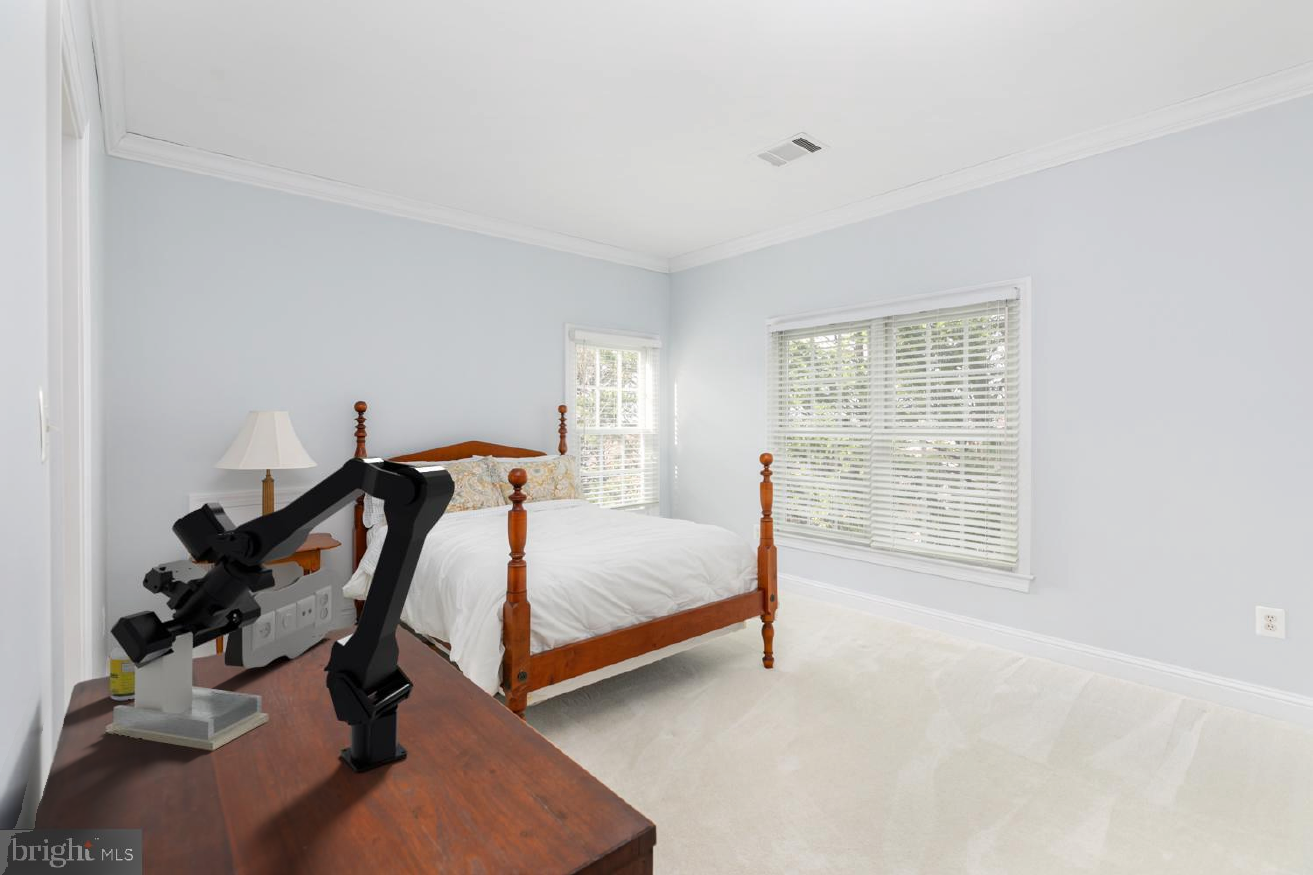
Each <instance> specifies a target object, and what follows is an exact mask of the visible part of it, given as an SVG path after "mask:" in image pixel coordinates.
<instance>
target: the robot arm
mask: <svg viewBox="0 0 1313 875" xmlns="http://www.w3.org/2000/svg"><path fill="white" fill-rule="evenodd" d="M455 489H456V484H455V481H454V479H453V477H452V475H451V473H450V472H449V471H448V470H447V468H444V467H443V466H442V465H437V464H429V465H420V466H418V465H415V464H414V465H413V464H407V463H402V462H397V461H392V460H388V459H384V458H381V457H379V456H374V455H373V456H359V457H357V456H356V457H353V458H350V459H348V460H346V461H345V463H344V464H342V466H341V467H340V468H339V469H337V470H336V471H334V472H333V473H331V474H330V475H329V476H328V477H325V478H324V479H322V480H321V481H320V482H319V483H317V484H316V485H314V486H313V487H312V488H310V489H308V490H307V491H306V492H304V493H302V494H301V495H300V496H298V497H297V498H296V499H295V500H293V501H291V502H290V503H289V504H287V505H286V506H284V507H283V508H280V509H278V510H275V511H273V512H270V513H267V514H264V515H261V516H258V517H256V518H253V519H251V520H249V521H247V522H243V523H242V524H240V525H238V526H236V525H235V523H234V522H233V521H232V520H231V519H230V518H229V516H228V514H227V513H226V512H225V510H224V508H223V506H222V505H221V503H220V502H219V501H216V502H206V503H204V504H203V505H202V506H201V507H200V508H198V509H195V510H193V511H191V512H189V513H187V514H186V515H184V516H182V517H181V518H178V519H177V520H176V521H175V522H174V523H173V525H172V532H173V533H174V534H175V536H176V537H177V539H178V540H179V541H180V542H181V544H182V545H183V546H184V548H185V549H186V550H187V552H188V553H189V554H190V555H191V557H192V558H193V560H194V561H195V562H196V563H198V564H199V563H206V562H207V563H208V564H214V565H213V566H212V567H211V568H210V569H209V570H208V571H206V570H204V569H203V568H202V567H201V566H199V565H197V564H196V563H194V562H193V561H191V560H187V559H179V560H173V561H170V562H166V563H160V564H158V566H154V567H151V569H150V570H149V571H148V572H146V573H145V575H144V578H143V581H142V586H143V588H145V589H146V590H148V591H149V592H150V593H153V594H154V595H156V594H160V593H161V594H163V595H164V596H166V597H167V598H169V600H167V602H166V603H165V604H166V606H167V607H168V609H169V610H171V611H173V610H174V611H175V612H173V613H172V614H171V617H173V620H169V621H166V622H163V623H162V622H161V620H160V619H161V618H160V617H159V616H158V615H157V613H156V612H155V611H154V610H144V611H140V612H136V613H132V614H130V615H129V614H128V615H126V616H122V617H120V618H119V619H118V620H117V621H116V622H115V623H114V624H113V626H112V627H111V629H110V633H111V634H112V636H113V637H114V639H115V641H116V640H117V641H118V643H119V644H120V645H121V647H122V648H123V650H124V651H125V652H126V654H127V655H128V657H129V658H130V659H131V661H132V662H134V664H135V666H136V667H137V668H138V669H139V668H142V667H144V666H146V665H148V664H150V663H153V662H155V661H157V660H159V659H161V658H163V657H165V656H168V655H170V654H172V653H174V651H173V649H172V648H171V647H172V643H174V642H175V641H176V637H179V636H182V635H185V634H188V633H191V632H192V634H193V649H195V648H197V647H200V646H202V645H204V644H207V643H209V642H213V641H215V640H217V639H219V638H221V637H224V636H228V635H229V633H231V632H234V631H236V630H237V629H238V627H239V628H242V627H245V626H248V625H251V624H253V623H255V621H256V620H257V619H258V618H259V617H260V616H261V607H260V606H259V604H258V603H257V602H256V600H255V599H254V598H253V595H252V593H253V594H256V593H259V592H263V591H265V590H269V589H271V588H273V587H275V586H276V581H275V579H276V578H275V577H274V573H273V572H274V570H273V569H272V568H268V567H267V566H266V565H265V564H266V563H270V562H274V561H279V560H281V559H282V560H283V559H286V558H288V557H291V556H293V554H295V553H296V552H297V551H298V550H299V548H300V547H302V546H303V545H304V544H305V543H306V542H307V540H308V538H309V534H310V533H311V532H312V531H313V530H314V529H315V528H316V527H317V526H319V525H320V524H321V523H323V522H324V521H326V520H328V519H329V518H330V517H332V516H333V515H335V514H336V513H338V512H339V511H340V510H342V509H344V508H345V507H347V506H348V505H350V504H351V503H352V502H354V501H356V500H357V499H358V498H360V497H361V496H362V495H364V494H367V495H369V496H371V497H372V498H375V499H379V500H381V501H382V500H383V505H382V506H383V513H384V518H385V521H386V526H387V530H386V534H385V537H384V540H383V544H382V546H381V550H380V553H379V557H378V560H377V563H376V566H375V569H374V573H373V575H372V578H371V581H370V586H369V589H368V591H367V595H366V598H365V600H364V604H363V607H362V609H361V610H362V611H361V613H360V616H359V620H358V624H357V626H356V628H355V631H354V632H353V633H350V634H349V635H346V636H344V637H342V638H339V639H338V640H337V639H336V640H335V641H334V643H332V646H331V652H330V656H329V661H328V662H327V664H326V666H325V667H324V669H323V671H324V672H327V674H326V678H325V686H326V688H327V689H328V692H329V695H330V698H331V701H332V705H333V708H334V712H335V717H336V719H337V721H340V722H345V723H346V724H347V726H350V738H349V739H350V740H349V741H350V744H349V745H350V746H348V747H346V748H343V749H341V750H340V756H342V758H343V759H344V760H345V761H346V763H348V765H349V766H351V768H352V770H354V771H355V772H356V773H361V772H365V771H368V770H371V769H374V768H376V767H379V766H382V765H385V764H387V763H390V762H394V761H396V760H400V759H402V758H406V757H407V756H408V750H407V749H406V748H405V747H404V746H403V745H402V744H400V743H399V742H398V740H399V736H398V735H399V732H398V731H399V704H401V703H402V702H403V701H406V700H407V699H409V698H410V697H411V694H412V691H413V688H414V683H413V682H412V680H410V678H409V676H407V674H406V673H405V672H404V671H403V669H402V668H401V667H400V665H399V664H398V662H399V653H400V648H399V644H398V640H397V637H396V633H397V630H398V626H399V623H400V619H401V616H402V613H403V610H404V607H405V604H406V600H407V598H408V595H409V592H410V588H411V585H412V582H413V579H414V575H415V573H416V569H417V567H418V563H419V560H420V557H421V554H422V551H423V548H424V545H425V543H426V542H425V541H426V539H427V536H428V534H429V533H430V532H431V531H432V529H434V527H435V526H436V525H437V523H438V522H439V520H440V519H441V518H442V517H443V516H444V514H445V513H446V510H447V508H448V506H449V505H450V503H451V501H452V498H453V497H454V495H455ZM250 592H251V593H250ZM236 615H237V617H238V618H239V619H240V620H239V621H238V622H237V623H235V621H234V620H235V619H236Z"/></svg>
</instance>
